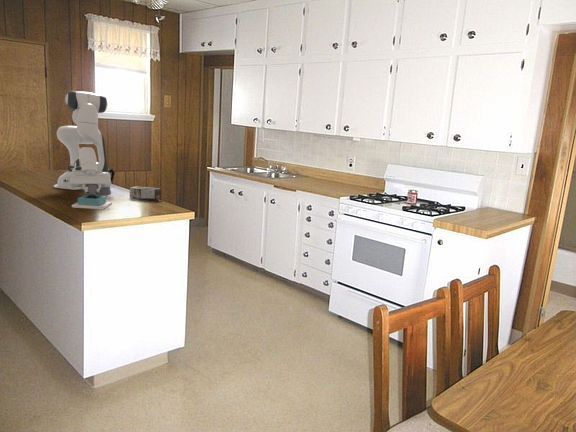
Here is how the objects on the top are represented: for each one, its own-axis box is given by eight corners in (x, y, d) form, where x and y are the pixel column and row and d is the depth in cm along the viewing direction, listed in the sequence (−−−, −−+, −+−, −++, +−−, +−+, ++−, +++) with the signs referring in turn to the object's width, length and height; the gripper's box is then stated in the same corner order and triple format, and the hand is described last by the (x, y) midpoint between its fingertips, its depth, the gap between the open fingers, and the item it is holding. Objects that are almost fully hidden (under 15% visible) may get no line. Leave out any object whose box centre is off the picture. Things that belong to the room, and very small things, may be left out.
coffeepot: (88, 192, 281) (88, 163, 278) (100, 191, 290) (99, 162, 286) (108, 196, 276) (108, 166, 272) (119, 194, 285) (119, 165, 281)
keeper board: (71, 207, 240) (71, 198, 239) (82, 202, 254) (82, 193, 253) (103, 209, 241) (103, 200, 240) (111, 204, 255) (111, 195, 254)
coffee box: (129, 198, 275) (154, 201, 272) (129, 187, 273) (154, 190, 271) (137, 196, 283) (161, 198, 281) (137, 185, 282) (161, 188, 279)
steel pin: (86, 201, 245) (86, 185, 243) (91, 200, 249) (90, 184, 247) (93, 202, 245) (93, 185, 243) (97, 201, 249) (97, 184, 247)
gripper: (109, 175, 259) (112, 195, 253) (69, 175, 249) (71, 196, 243) (110, 168, 254) (113, 189, 248) (69, 168, 244) (72, 189, 238)
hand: (92, 192), depth 245 cm, fingers closed on steel pin, 4 cm apart
